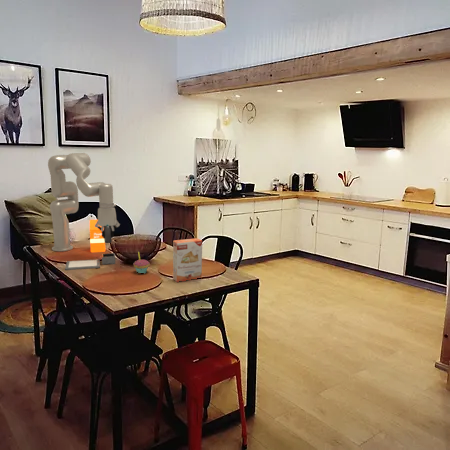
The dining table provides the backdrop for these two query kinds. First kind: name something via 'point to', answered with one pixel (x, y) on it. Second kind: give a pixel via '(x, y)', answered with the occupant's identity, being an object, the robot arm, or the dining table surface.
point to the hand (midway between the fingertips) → (107, 237)
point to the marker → (107, 234)
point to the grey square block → (108, 258)
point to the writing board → (82, 264)
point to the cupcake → (141, 265)
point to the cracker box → (187, 259)
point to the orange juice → (96, 238)
